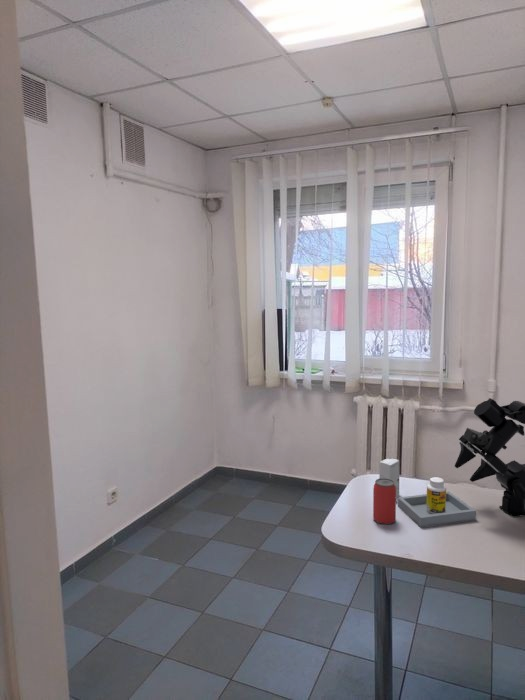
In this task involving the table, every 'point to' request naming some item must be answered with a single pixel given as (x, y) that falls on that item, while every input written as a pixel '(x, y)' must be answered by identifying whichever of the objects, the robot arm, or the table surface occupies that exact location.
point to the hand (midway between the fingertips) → (462, 473)
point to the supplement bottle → (436, 496)
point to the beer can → (384, 501)
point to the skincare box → (390, 471)
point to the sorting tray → (453, 513)
